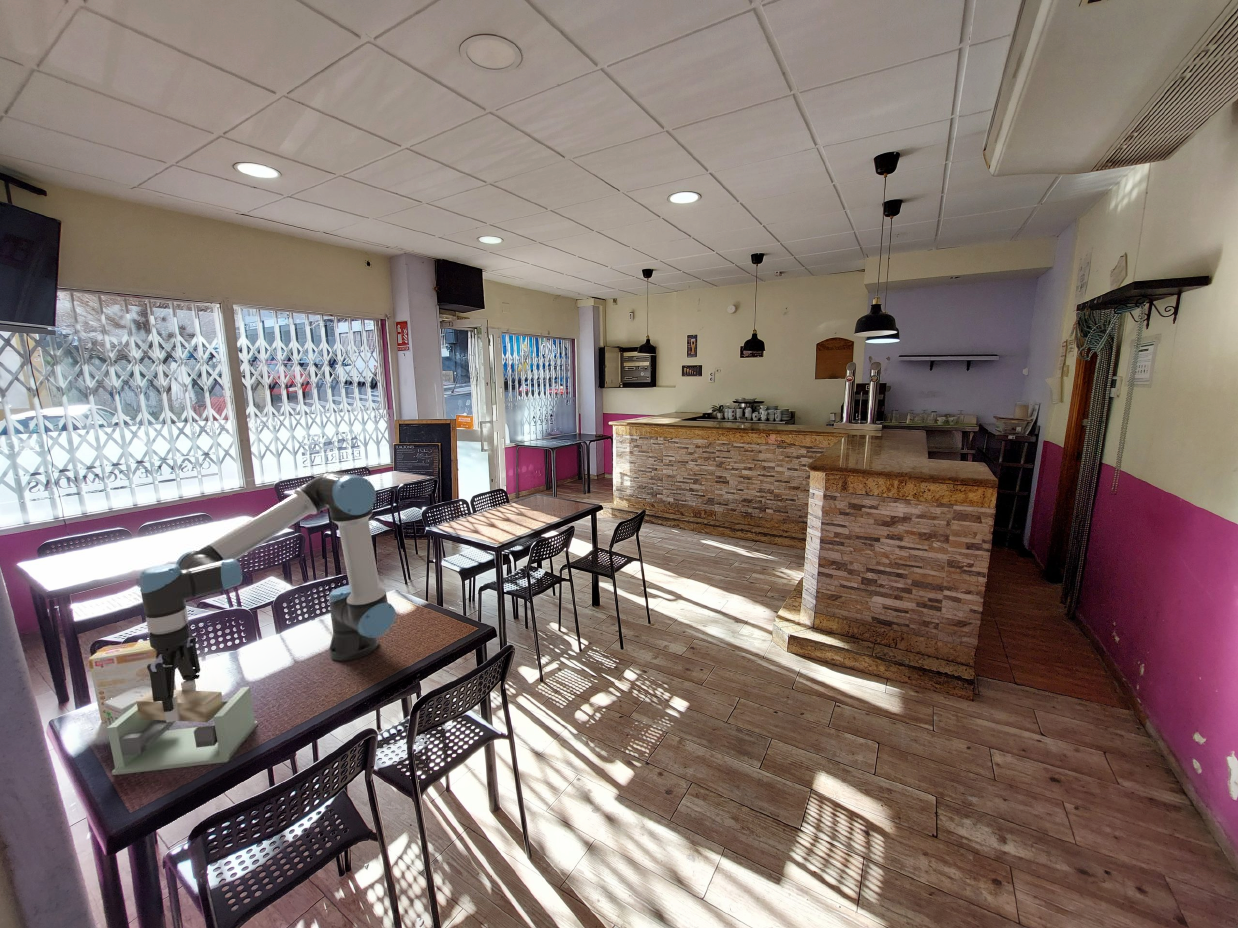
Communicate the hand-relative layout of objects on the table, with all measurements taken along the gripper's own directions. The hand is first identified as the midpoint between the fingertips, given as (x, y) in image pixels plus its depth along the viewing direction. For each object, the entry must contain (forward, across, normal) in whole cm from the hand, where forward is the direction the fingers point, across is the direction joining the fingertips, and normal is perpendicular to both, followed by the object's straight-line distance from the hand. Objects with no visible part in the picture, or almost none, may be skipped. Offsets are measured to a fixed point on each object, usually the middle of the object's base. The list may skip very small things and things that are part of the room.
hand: (182, 711), depth 128 cm
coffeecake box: (+11, -20, -25) cm, 34 cm away
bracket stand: (+10, 0, 0) cm, 10 cm away
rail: (+1, 0, 0) cm, 1 cm away
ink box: (+11, -8, -17) cm, 22 cm away
